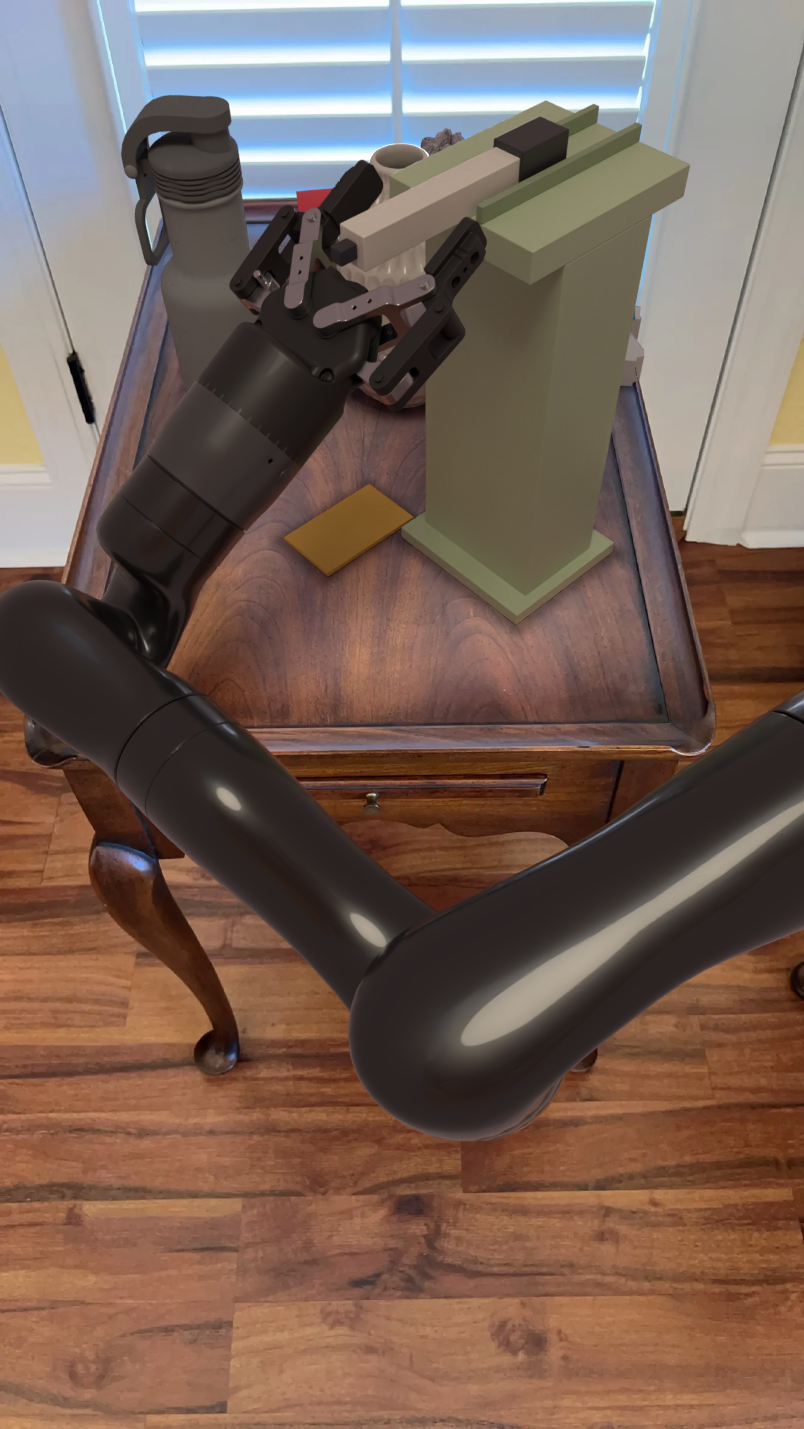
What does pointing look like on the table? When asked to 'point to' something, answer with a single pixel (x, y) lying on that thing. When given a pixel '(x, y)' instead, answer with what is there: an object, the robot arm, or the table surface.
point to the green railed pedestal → (537, 360)
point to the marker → (449, 196)
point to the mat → (348, 529)
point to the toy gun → (633, 353)
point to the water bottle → (192, 219)
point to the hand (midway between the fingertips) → (424, 198)
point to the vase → (402, 264)
